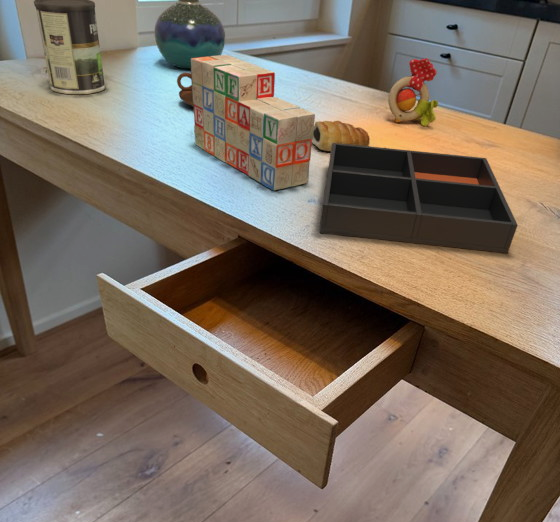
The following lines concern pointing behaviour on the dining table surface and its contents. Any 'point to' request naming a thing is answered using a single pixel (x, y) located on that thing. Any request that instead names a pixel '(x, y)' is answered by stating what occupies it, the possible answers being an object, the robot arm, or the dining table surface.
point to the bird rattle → (406, 98)
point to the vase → (188, 33)
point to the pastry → (338, 134)
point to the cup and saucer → (185, 89)
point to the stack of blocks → (250, 122)
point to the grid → (415, 198)
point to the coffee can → (71, 45)
